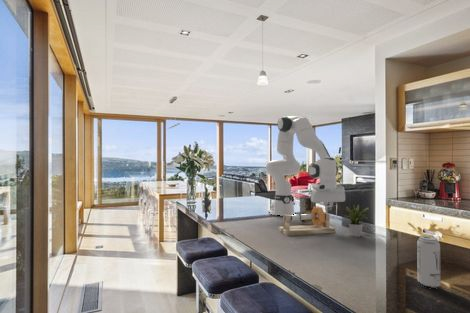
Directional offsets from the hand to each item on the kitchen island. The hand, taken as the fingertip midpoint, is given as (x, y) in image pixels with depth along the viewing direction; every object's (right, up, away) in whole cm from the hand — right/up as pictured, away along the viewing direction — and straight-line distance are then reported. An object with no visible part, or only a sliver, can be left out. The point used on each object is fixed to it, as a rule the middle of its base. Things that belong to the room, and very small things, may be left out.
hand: (328, 210), depth 160 cm
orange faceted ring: (-6, -8, -2) cm, 10 cm away
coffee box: (-7, -11, +16) cm, 21 cm away
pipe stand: (-13, -11, -3) cm, 17 cm away
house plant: (+11, -11, -13) cm, 20 cm away
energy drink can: (+9, -11, -70) cm, 71 cm away
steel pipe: (-13, -5, -3) cm, 14 cm away
